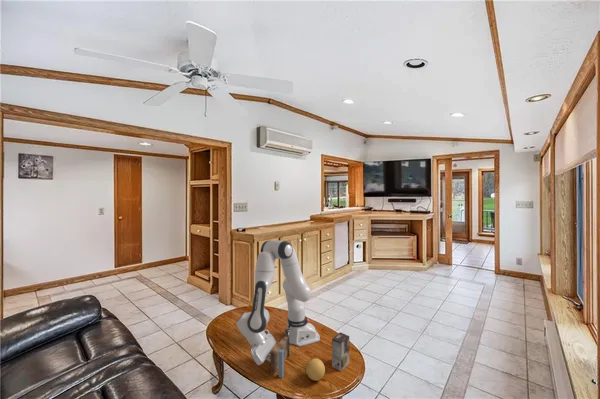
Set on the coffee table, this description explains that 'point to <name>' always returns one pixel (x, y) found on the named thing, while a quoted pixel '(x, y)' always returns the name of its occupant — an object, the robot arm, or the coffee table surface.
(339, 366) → the coffee box
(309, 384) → the coffee table surface
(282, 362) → the post
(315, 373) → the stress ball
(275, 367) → the wooden gate panel
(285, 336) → the hinge post
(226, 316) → the coffee table surface
